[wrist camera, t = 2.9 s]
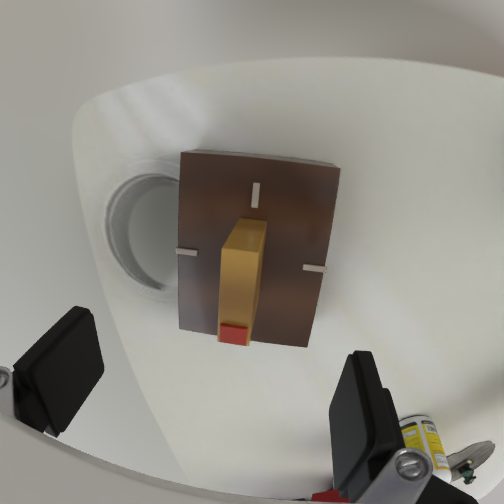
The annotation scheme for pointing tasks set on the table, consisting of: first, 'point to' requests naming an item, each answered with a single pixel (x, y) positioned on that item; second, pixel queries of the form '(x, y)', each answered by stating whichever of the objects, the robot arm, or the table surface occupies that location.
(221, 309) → the thumbturn
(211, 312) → the plate
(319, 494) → the alarm clock
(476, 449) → the sculpture
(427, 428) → the pill bottle
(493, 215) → the table surface
